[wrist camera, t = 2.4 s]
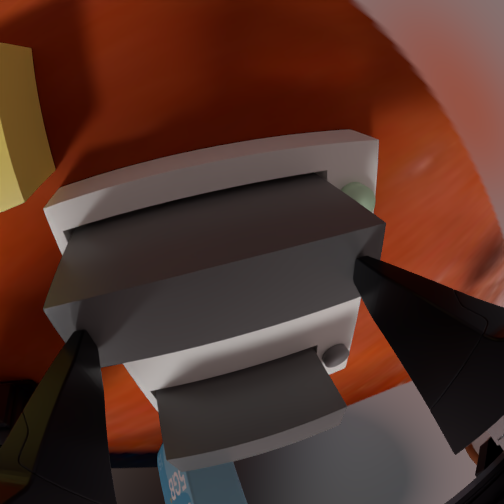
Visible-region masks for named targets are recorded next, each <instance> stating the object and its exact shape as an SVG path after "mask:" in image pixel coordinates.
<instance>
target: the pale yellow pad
mask: <svg viewBox="0 0 504 504" xmlns="http://www.w3.org/2000/svg"><path fill="white" fill-rule="evenodd" d="M55 170H56V169H55V165H54V162H53V158H52V155H51V151H50V147H49V143H48V139H47V135H46V131H45V127H44V122H43V118H42V113H41V108H40V103H39V98H38V92H37V86H36V80H35V73H34V66H33V57H32V48H28V47H23V46H17V45H12V44H6V43H0V212H3V211H5V210H7V209H10V208H12V207H15V206H17V205H20V204H22V203H25V201H26V200H27V199H28V198H29V197H30V196H31V195H32V194H33V193H34V192H35V191H36V190H37V188H38V187H39V186H40V185H41V184H42V183H43V182H44V181H45V180H46V179H47V178H48V177H49V176H50V175H51V174H52V173H53V172H54V171H55Z"/></svg>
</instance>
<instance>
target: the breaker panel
mask: <svg viewBox="0 0 504 504" xmlns="http://www.w3.org/2000/svg"><path fill="white" fill-rule="evenodd" d="M378 147H379V140H378V139H376V138H373V137H370V136H368V135H365V134H362V133H359V132H356V131H354V130H351V129H346V130H333V131H321V132H311V133H301V134H293V135H284V136H277V137H269V138H262V139H255V140H249V141H243V142H237V143H231V144H225V145H220V146H214V147H209V148H204V149H199V150H194V151H190V152H185V153H180V154H176V155H171V156H167V157H163V158H159V159H155V160H151V161H147V162H143V163H139V164H135V165H131V166H128V167H124V168H121V169H117V170H114V171H110V172H107V173H103V174H100V175H97V176H94V177H90V178H87V179H84V180H81V181H78V182H75V183H72V184H69V185H66V186H63V187H60V188H59V189H58V190H57V191H56V193H55V194H54V195H53V197H52V198H51V199H50V200H49V202H48V203H47V204H46V206H45V207H44V208H43V210H44V212H45V215H46V218H47V220H48V223H49V225H50V228H51V230H52V233H53V235H54V237H55V240H56V242H57V244H58V247H59V249H60V251H61V253H62V256H63V253H64V251H65V249H66V246H67V244H68V242H69V239H70V237H71V235H72V233H73V231H74V228H75V227H78V226H81V225H84V224H88V223H91V222H94V221H98V220H101V219H105V218H108V217H112V216H115V215H119V214H122V213H126V212H130V211H134V210H137V209H141V208H145V207H149V206H153V205H157V204H161V203H165V202H169V201H173V200H177V199H181V198H185V197H190V196H194V195H198V194H203V193H207V192H212V191H217V190H221V189H226V188H231V187H236V186H240V185H245V184H250V183H256V182H261V181H266V180H271V179H277V178H282V177H288V176H294V175H300V174H306V173H312V172H314V173H316V174H317V175H319V176H320V177H322V178H323V179H325V180H326V181H328V182H329V183H331V184H332V185H334V186H335V187H337V188H338V189H340V190H341V191H343V192H344V193H345V194H347V195H348V196H350V197H351V198H353V199H354V200H355V201H357V202H358V203H360V204H361V205H362V206H364V207H365V208H366V209H368V210H369V211H371V212H372V213H374V207H375V192H376V180H377V166H378ZM360 300H361V297H358V298H356V299H353V300H350V301H347V302H344V303H342V304H339V305H336V306H333V307H330V308H327V309H324V310H321V311H318V312H315V313H312V314H309V315H306V316H303V317H300V318H297V319H294V320H291V321H287V322H284V323H281V324H278V325H274V326H271V327H268V328H264V329H261V330H258V331H254V332H251V333H247V334H244V335H240V336H236V337H233V338H229V339H225V340H222V341H218V342H214V343H210V344H206V345H203V346H199V347H195V348H190V349H186V350H182V351H178V352H174V353H169V354H165V355H161V356H156V357H151V358H147V359H142V360H137V361H132V362H127V363H123V365H124V366H125V368H126V369H127V370H128V372H129V373H130V375H131V376H132V378H133V379H134V380H135V382H136V383H137V385H138V386H139V387H140V389H141V390H142V392H143V393H144V394H145V396H146V397H147V398H148V400H149V401H150V402H151V403H152V405H153V406H154V407H155V409H156V410H157V411H158V405H157V398H156V390H159V389H163V388H168V387H173V386H177V385H182V384H186V383H191V382H195V381H199V380H203V379H207V378H211V377H215V376H219V375H223V374H226V373H230V372H234V371H237V370H241V369H244V368H248V367H251V366H255V365H258V364H261V363H265V362H268V361H271V360H274V359H277V358H280V357H284V356H287V355H290V354H293V353H296V352H299V351H301V350H304V349H307V348H310V347H313V349H314V350H315V352H316V354H317V356H318V357H319V359H320V361H321V362H322V364H323V366H324V368H325V369H326V371H327V373H328V375H329V374H331V373H334V372H336V371H339V370H341V369H344V368H345V367H346V363H347V359H348V356H349V351H350V346H351V342H352V338H353V333H354V329H355V324H356V320H357V315H358V310H359V305H360Z"/></svg>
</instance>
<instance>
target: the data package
mask: <svg viewBox="0 0 504 504" xmlns="http://www.w3.org/2000/svg"><path fill="white" fill-rule="evenodd" d="M157 462H158V469H159V474H160V480H161V485H162V490H163V494H164V499H165V503H166V504H247V501H246V499H245V496H244V493H243V490H242V487H241V484H240V481H239V478H238V475H237V473H236V469H235V466H234V463H233V462H229V463H224V464H220V465H216V466H211V467H206V468H201V469H196V470H191V471H185V472H181V471H179V470H178V469H177V468H176V467H174V466H173V465H172V464H170V463H169V462H168V461H167V460H166V456H165V450H164V444H162V446H161V448H160V450H159V453H158V457H157Z"/></svg>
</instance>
